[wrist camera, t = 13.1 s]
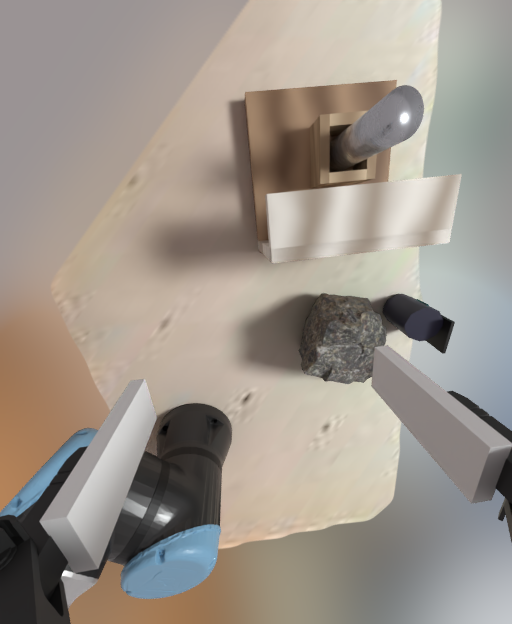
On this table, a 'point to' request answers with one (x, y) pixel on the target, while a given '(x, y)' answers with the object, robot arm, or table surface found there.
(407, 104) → the peg
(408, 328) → the speaker
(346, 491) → the table surface
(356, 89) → the socket board
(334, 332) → the rock
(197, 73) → the table surface
